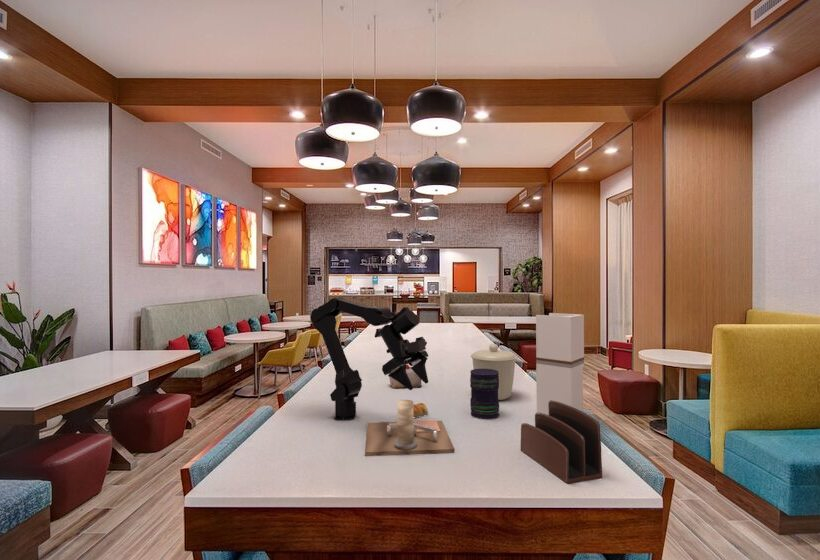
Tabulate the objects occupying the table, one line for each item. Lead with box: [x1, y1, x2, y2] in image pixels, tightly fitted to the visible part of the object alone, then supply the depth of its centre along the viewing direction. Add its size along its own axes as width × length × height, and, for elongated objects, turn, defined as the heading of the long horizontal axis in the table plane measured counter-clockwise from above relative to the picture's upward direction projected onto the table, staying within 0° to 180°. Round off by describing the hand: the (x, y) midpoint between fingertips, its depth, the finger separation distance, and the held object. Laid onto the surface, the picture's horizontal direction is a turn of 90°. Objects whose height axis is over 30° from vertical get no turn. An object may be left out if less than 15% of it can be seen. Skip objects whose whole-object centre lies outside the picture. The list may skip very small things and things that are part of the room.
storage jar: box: [469, 368, 500, 420], centre depth 144 cm, size 10×10×15 cm
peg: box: [394, 399, 417, 450], centre depth 115 cm, size 6×6×12 cm
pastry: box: [413, 402, 429, 418], centre depth 144 cm, size 9×7×4 cm
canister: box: [470, 343, 518, 401], centre depth 166 cm, size 18×18×21 cm
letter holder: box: [520, 400, 603, 484], centre depth 106 cm, size 10×20×14 cm, turn 17°
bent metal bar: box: [387, 423, 437, 443], centre depth 121 cm, size 15×4×4 cm, turn 71°
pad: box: [413, 419, 440, 433], centre depth 130 cm, size 10×10×1 cm
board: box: [364, 420, 455, 457], centre depth 123 cm, size 24×23×1 cm
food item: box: [388, 364, 422, 389], centre depth 183 cm, size 14×8×10 cm, turn 99°
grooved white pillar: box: [535, 312, 585, 415], centre depth 136 cm, size 11×11×35 cm
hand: (419, 386), depth 127 cm, fingers open, 9 cm apart
